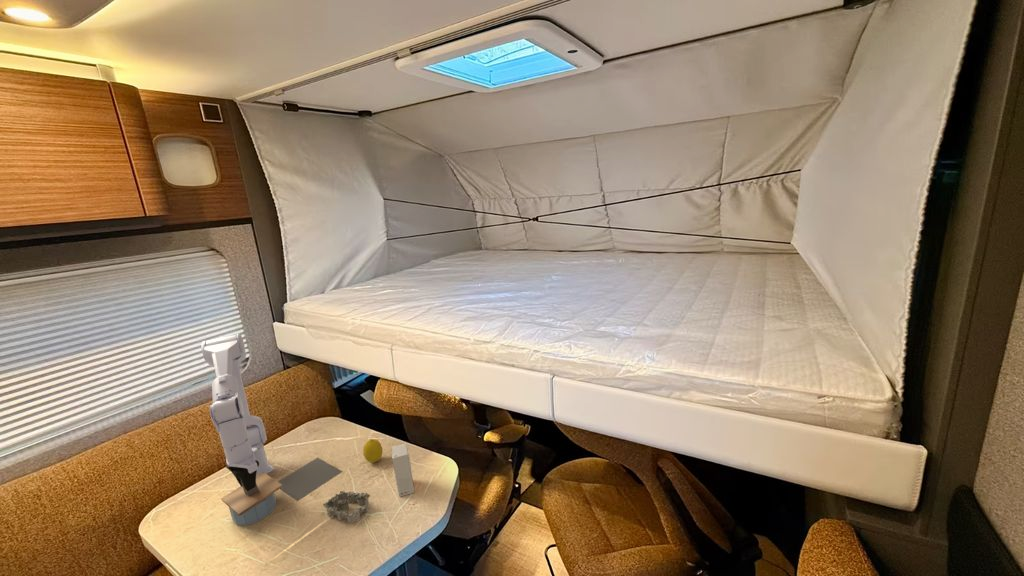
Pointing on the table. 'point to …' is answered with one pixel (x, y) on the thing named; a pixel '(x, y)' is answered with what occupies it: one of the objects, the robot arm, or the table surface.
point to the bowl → (255, 511)
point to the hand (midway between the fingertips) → (248, 486)
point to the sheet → (251, 494)
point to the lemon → (372, 450)
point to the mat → (308, 478)
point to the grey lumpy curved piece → (343, 505)
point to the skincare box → (402, 469)
